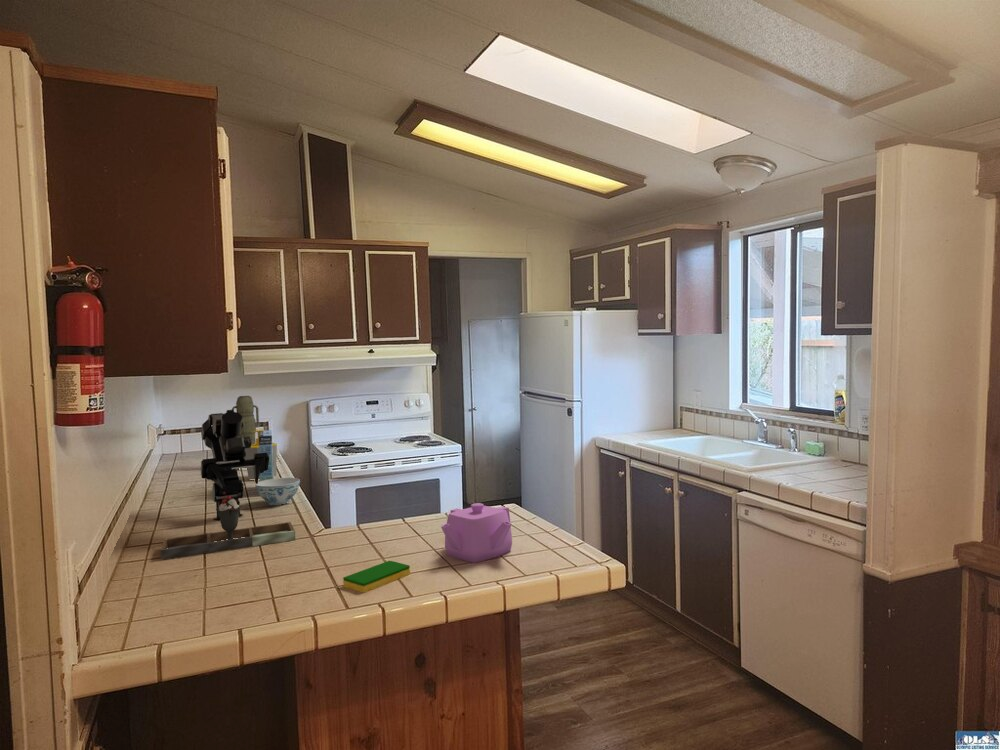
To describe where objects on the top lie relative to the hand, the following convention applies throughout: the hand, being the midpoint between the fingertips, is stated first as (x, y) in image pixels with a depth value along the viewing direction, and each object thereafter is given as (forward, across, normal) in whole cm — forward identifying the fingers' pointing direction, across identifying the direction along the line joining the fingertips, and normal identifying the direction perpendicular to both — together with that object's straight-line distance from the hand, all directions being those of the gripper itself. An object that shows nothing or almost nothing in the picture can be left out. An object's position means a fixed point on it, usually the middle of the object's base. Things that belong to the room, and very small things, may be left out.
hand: (240, 485), depth 184 cm
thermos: (-91, +25, +89) cm, 129 cm away
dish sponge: (+58, +18, -25) cm, 65 cm away
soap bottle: (-65, +25, +68) cm, 97 cm away
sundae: (+15, -5, +7) cm, 17 cm away
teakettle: (+56, +45, -24) cm, 76 cm away
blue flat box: (-41, +20, +50) cm, 68 cm away
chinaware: (-20, +18, +34) cm, 43 cm away
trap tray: (+15, -5, +7) cm, 17 cm away
